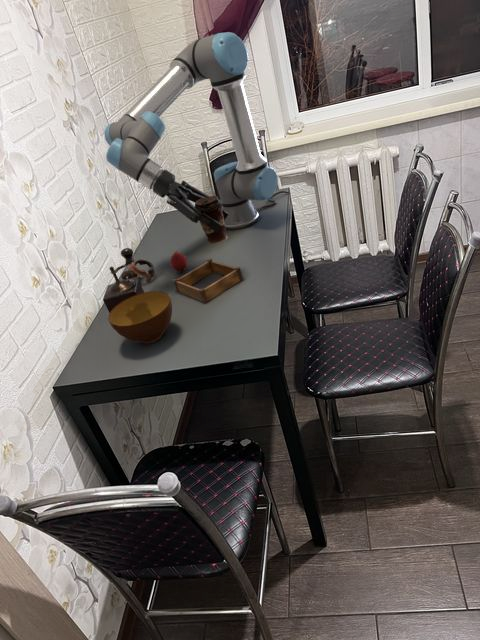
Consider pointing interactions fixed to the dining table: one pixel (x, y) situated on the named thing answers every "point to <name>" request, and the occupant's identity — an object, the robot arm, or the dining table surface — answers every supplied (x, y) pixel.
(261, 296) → the dining table surface
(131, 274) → the pottery mug
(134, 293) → the manual coffee grinder
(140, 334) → the bowl
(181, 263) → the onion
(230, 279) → the wooden frame
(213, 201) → the coffee cup
